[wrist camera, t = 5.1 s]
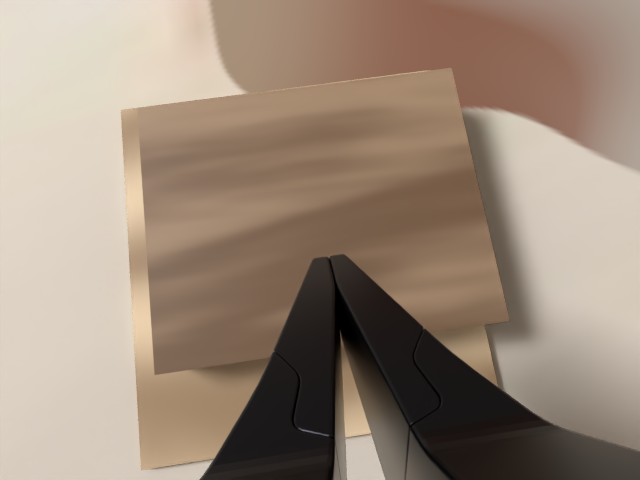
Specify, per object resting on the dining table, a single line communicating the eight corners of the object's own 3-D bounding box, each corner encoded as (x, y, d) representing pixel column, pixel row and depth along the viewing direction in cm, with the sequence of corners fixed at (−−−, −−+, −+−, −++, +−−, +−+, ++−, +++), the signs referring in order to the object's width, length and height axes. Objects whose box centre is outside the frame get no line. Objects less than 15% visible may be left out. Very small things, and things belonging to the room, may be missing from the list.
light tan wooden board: (499, 409, 18) (503, 411, 17) (145, 466, 17) (141, 470, 17) (426, 74, 21) (429, 70, 20) (124, 114, 20) (120, 110, 20)
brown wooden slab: (509, 320, 15) (451, 67, 17) (154, 375, 15) (137, 108, 17) (483, 318, 18) (434, 97, 20) (177, 365, 17) (160, 133, 19)
